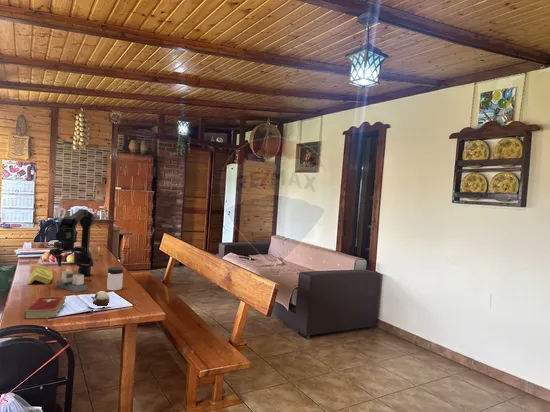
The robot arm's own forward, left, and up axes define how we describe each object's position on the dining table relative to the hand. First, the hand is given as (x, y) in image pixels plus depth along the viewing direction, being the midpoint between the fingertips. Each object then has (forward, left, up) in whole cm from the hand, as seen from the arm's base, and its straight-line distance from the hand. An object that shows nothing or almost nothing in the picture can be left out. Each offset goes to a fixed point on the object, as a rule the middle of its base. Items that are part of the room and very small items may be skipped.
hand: (67, 265), depth 224 cm
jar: (-15, +23, -12) cm, 30 cm away
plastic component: (+4, -19, -12) cm, 23 cm away
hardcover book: (+30, +34, -13) cm, 47 cm away
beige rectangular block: (+1, +1, -10) cm, 10 cm away
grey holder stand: (+1, +7, -12) cm, 13 cm away
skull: (+9, +45, -12) cm, 47 cm away
